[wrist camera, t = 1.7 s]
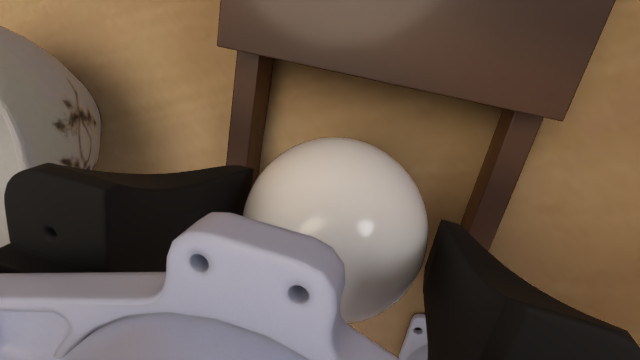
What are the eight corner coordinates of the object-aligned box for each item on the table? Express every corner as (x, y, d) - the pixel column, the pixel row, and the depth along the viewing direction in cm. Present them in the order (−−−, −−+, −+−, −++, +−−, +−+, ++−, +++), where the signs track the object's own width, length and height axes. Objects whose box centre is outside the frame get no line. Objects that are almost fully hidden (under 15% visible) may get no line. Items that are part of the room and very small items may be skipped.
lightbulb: (290, 126, 21) (169, 203, 11) (403, 87, 19) (388, 135, 9) (329, 228, 22) (255, 380, 12) (438, 202, 20) (459, 359, 10)
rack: (467, 268, 21) (484, 339, 16) (236, 202, 23) (185, 246, 18) (623, -123, 14) (736, -215, 9) (277, -164, 16) (216, -258, 11)
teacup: (-45, 14, 23) (-255, 0, 16) (125, 0, 21) (-36, -26, 13) (26, 232, 28) (-110, 296, 21) (172, 245, 25) (72, 326, 18)
